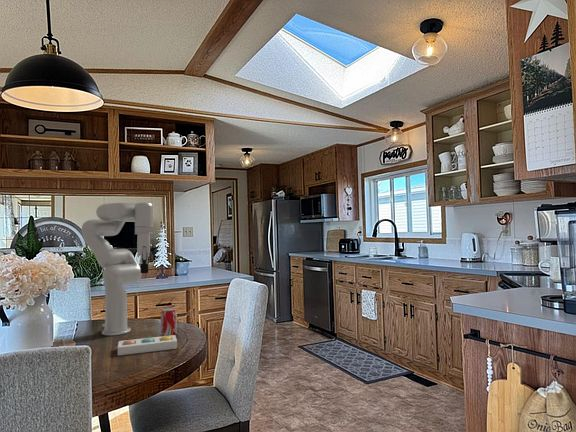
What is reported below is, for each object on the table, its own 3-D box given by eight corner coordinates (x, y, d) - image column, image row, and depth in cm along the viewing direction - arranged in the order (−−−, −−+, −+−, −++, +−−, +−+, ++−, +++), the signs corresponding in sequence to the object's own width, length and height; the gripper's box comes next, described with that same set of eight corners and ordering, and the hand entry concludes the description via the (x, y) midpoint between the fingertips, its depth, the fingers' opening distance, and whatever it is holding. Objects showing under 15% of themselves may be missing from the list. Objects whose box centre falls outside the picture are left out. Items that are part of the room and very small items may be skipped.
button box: (117, 355, 153) (117, 347, 153) (118, 348, 162) (118, 341, 162) (177, 348, 160) (177, 340, 160) (175, 342, 170) (175, 335, 170)
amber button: (161, 346, 161) (161, 339, 161) (160, 344, 165) (160, 336, 165) (171, 345, 162) (171, 337, 162) (170, 342, 166) (170, 335, 166)
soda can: (172, 338, 176) (172, 310, 176) (157, 337, 177) (157, 310, 178) (179, 334, 183) (179, 307, 183) (165, 333, 184) (165, 307, 185)
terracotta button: (123, 351, 156) (123, 343, 156) (123, 348, 160) (123, 340, 160) (134, 349, 157) (134, 342, 158) (134, 347, 161) (134, 339, 161)
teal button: (142, 348, 158) (142, 341, 159) (142, 346, 162) (142, 338, 162) (153, 347, 160) (153, 340, 160) (153, 345, 164) (152, 337, 164)
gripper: (135, 231, 181) (135, 272, 180) (134, 230, 167) (135, 275, 166) (152, 230, 184) (152, 271, 183) (153, 230, 170) (154, 274, 169)
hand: (144, 272), depth 175 cm, fingers closed
